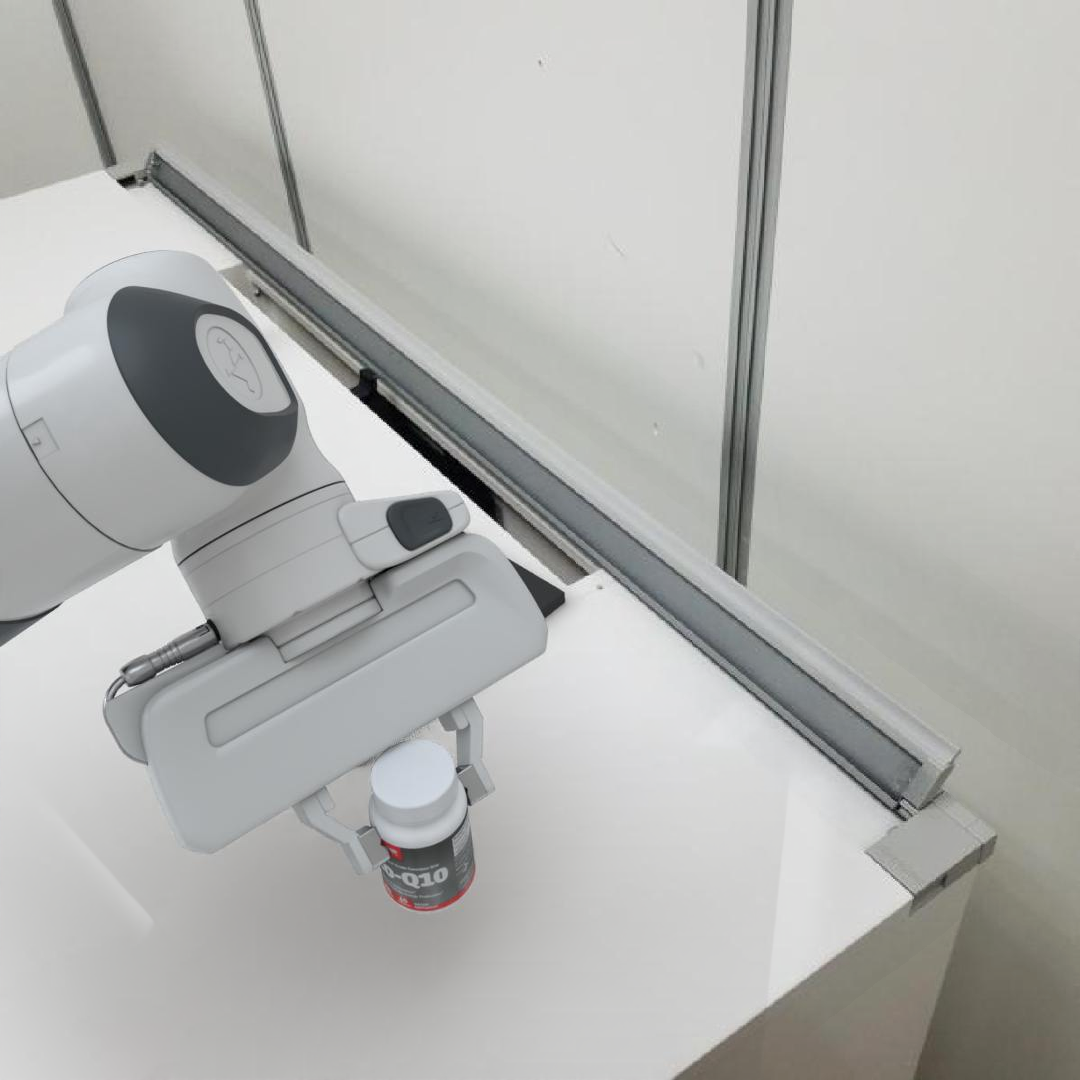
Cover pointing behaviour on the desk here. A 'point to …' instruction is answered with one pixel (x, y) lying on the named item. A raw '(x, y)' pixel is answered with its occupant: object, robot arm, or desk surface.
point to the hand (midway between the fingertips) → (429, 831)
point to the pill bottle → (422, 826)
